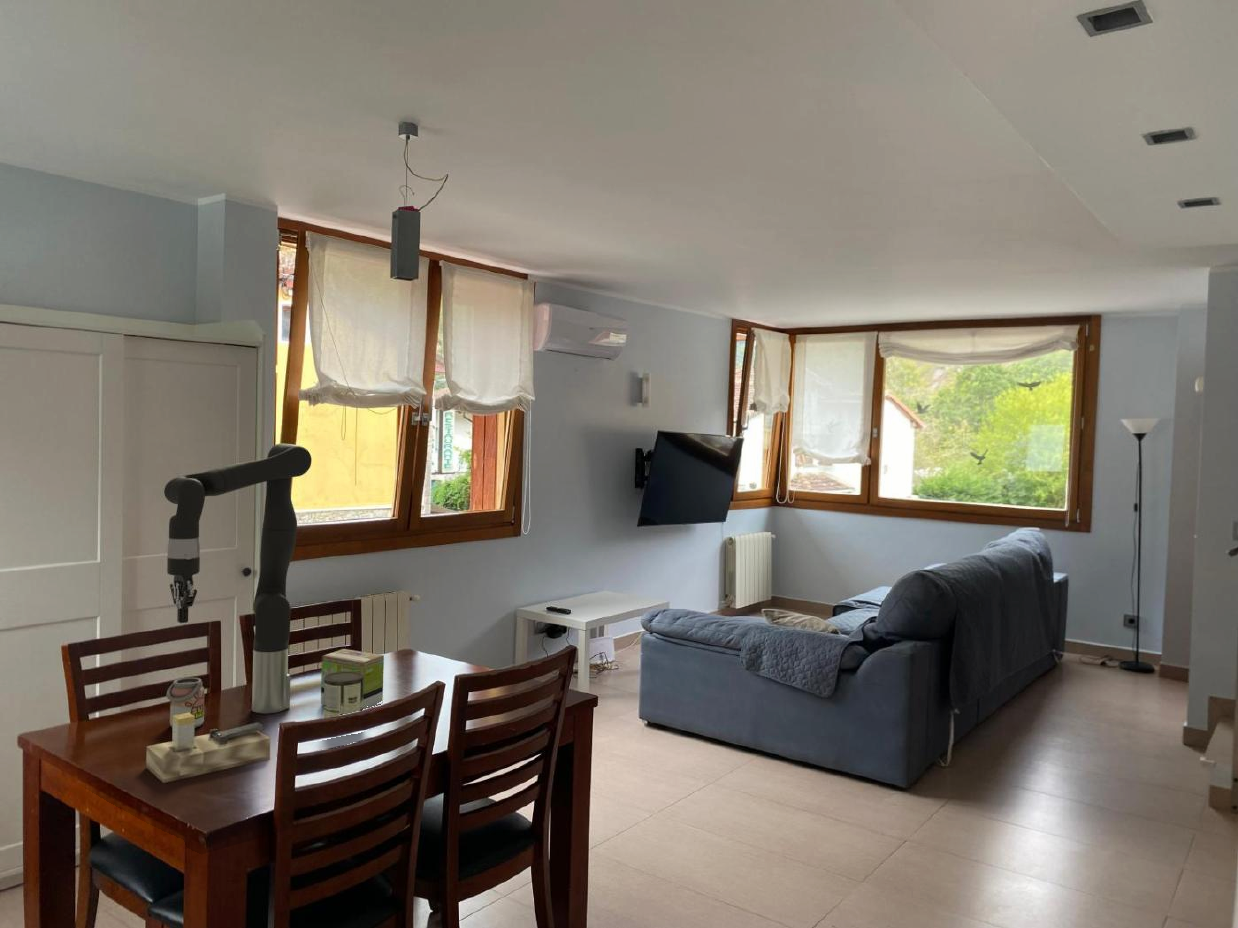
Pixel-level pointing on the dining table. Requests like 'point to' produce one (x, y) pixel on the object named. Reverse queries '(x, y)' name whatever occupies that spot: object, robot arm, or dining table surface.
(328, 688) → the coffee can
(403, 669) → the dining table surface
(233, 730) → the lever
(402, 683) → the dining table surface
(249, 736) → the block
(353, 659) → the tea box
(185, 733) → the pin
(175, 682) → the beverage can
